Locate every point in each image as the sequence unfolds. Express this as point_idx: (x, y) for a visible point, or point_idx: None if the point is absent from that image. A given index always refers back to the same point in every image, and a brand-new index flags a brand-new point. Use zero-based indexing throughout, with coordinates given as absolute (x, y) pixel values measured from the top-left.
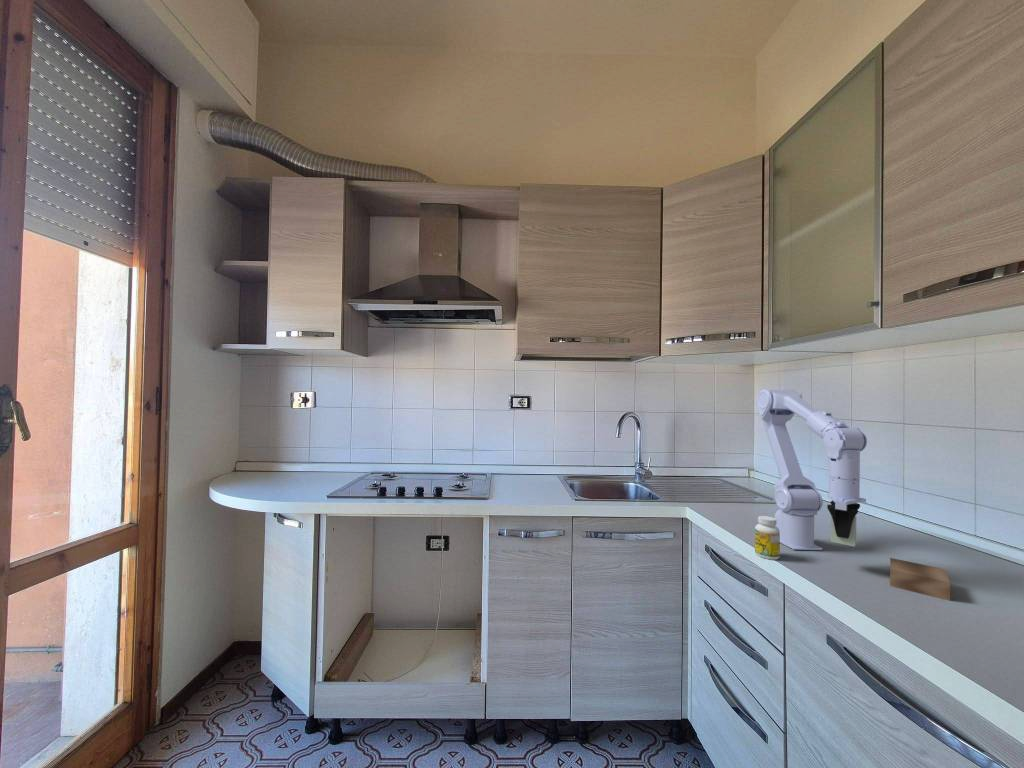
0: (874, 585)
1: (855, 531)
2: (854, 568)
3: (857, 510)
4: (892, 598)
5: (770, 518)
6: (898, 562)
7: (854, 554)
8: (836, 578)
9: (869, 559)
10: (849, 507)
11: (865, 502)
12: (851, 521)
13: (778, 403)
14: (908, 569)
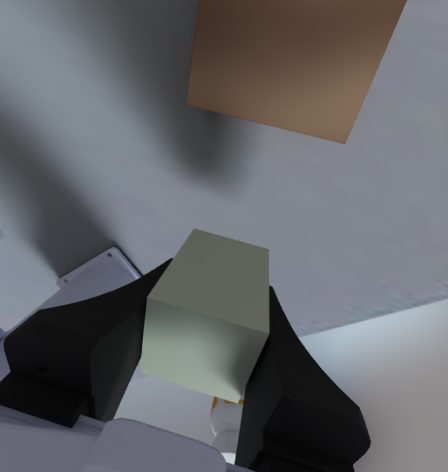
0: (344, 182)
1: (230, 270)
2: (217, 201)
3: (298, 411)
4: (443, 160)
5: (233, 461)
6: (235, 86)
7: (81, 171)
8: (331, 261)
9: (97, 139)
10: (111, 369)
11: (206, 446)
12: (310, 357)
13: None
14: (316, 67)
